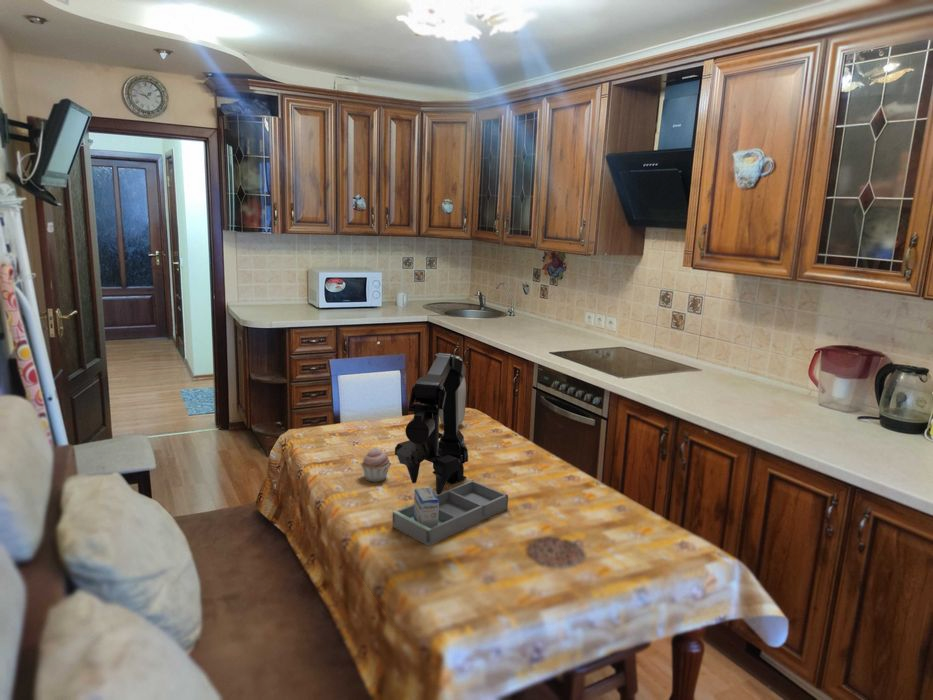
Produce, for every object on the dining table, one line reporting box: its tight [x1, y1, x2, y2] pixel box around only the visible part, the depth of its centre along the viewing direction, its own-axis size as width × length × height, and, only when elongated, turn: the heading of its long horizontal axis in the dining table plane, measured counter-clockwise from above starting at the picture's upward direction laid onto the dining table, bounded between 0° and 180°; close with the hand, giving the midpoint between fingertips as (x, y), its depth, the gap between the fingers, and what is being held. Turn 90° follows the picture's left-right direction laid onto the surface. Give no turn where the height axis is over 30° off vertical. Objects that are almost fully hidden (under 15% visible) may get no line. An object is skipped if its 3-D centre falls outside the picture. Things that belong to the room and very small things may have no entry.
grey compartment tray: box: [392, 480, 509, 547], centre depth 169 cm, size 14×30×4 cm, turn 136°
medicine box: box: [413, 486, 439, 528], centre depth 162 cm, size 8×4×9 cm, turn 20°
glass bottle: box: [439, 354, 467, 427], centre depth 240 cm, size 10×10×28 cm
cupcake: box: [360, 446, 392, 483], centre depth 192 cm, size 9×9×10 cm
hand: (426, 488), depth 160 cm, fingers open, 9 cm apart
